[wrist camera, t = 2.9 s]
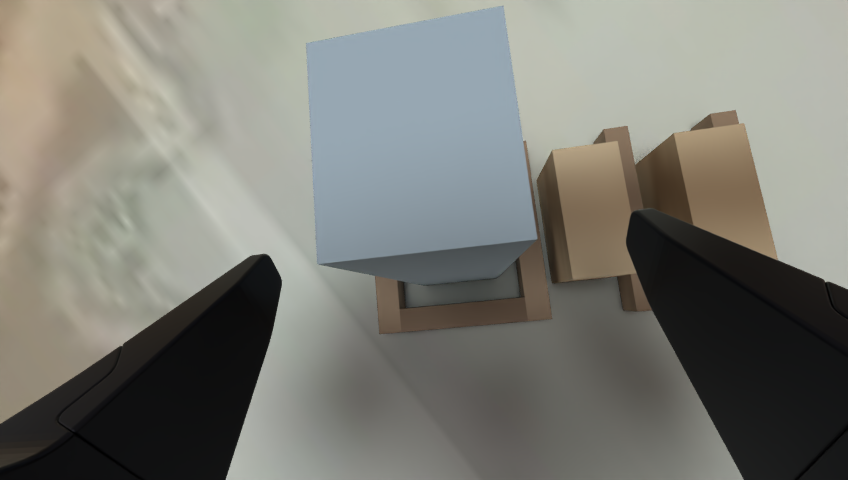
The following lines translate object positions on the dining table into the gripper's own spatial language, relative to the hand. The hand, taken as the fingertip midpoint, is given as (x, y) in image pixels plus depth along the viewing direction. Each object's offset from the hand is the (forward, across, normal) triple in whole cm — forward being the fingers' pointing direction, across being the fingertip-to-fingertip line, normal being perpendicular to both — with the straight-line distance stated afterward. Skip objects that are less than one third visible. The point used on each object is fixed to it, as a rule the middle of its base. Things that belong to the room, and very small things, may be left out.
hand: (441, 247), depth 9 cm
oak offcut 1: (+8, -5, +6) cm, 11 cm away
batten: (+7, 0, +5) cm, 9 cm away
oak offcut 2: (+7, -10, +6) cm, 13 cm away
